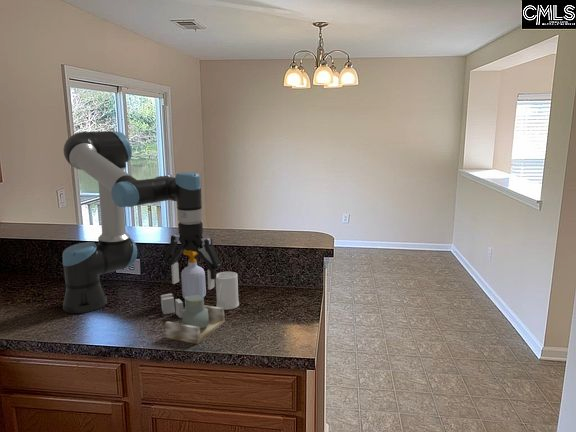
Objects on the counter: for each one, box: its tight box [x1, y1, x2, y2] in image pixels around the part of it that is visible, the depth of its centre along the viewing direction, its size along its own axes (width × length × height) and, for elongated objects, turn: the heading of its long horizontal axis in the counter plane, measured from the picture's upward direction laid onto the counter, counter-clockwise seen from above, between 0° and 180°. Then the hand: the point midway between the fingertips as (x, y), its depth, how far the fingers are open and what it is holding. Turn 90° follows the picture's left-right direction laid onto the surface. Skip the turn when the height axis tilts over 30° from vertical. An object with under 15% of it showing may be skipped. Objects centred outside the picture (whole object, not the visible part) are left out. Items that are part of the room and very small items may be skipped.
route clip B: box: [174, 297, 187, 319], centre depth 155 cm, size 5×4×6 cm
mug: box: [215, 271, 240, 311], centre depth 161 cm, size 12×8×12 cm
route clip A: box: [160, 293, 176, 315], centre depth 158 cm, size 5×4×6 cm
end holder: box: [164, 304, 226, 345], centre depth 144 cm, size 12×17×5 cm
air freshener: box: [181, 295, 209, 329], centre depth 143 cm, size 11×8×10 cm
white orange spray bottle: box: [180, 250, 207, 300], centre depth 170 cm, size 9×9×25 cm
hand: (193, 285), depth 141 cm, fingers open, 13 cm apart
